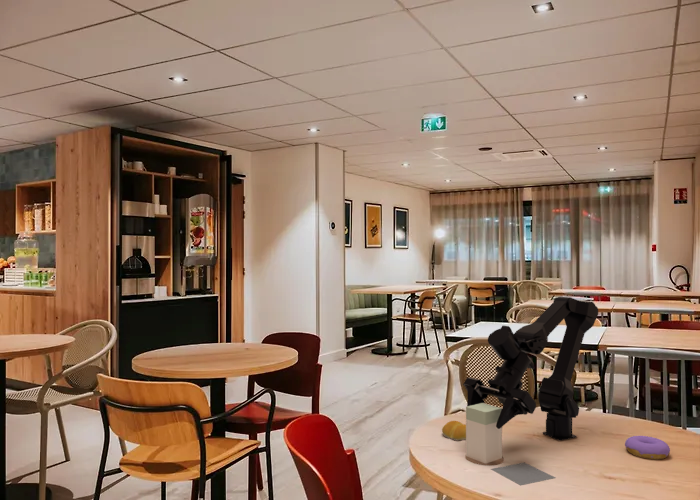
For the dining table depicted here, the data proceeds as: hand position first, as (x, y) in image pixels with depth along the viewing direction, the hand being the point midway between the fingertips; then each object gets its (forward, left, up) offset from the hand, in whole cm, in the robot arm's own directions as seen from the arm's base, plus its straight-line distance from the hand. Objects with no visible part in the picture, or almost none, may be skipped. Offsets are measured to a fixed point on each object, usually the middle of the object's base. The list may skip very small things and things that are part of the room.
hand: (482, 422), depth 134 cm
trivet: (-1, 0, -9) cm, 9 cm away
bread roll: (-6, -18, -9) cm, 21 cm away
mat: (-3, +11, -9) cm, 14 cm away
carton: (-1, 0, -8) cm, 9 cm away
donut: (-41, +13, -9) cm, 44 cm away
